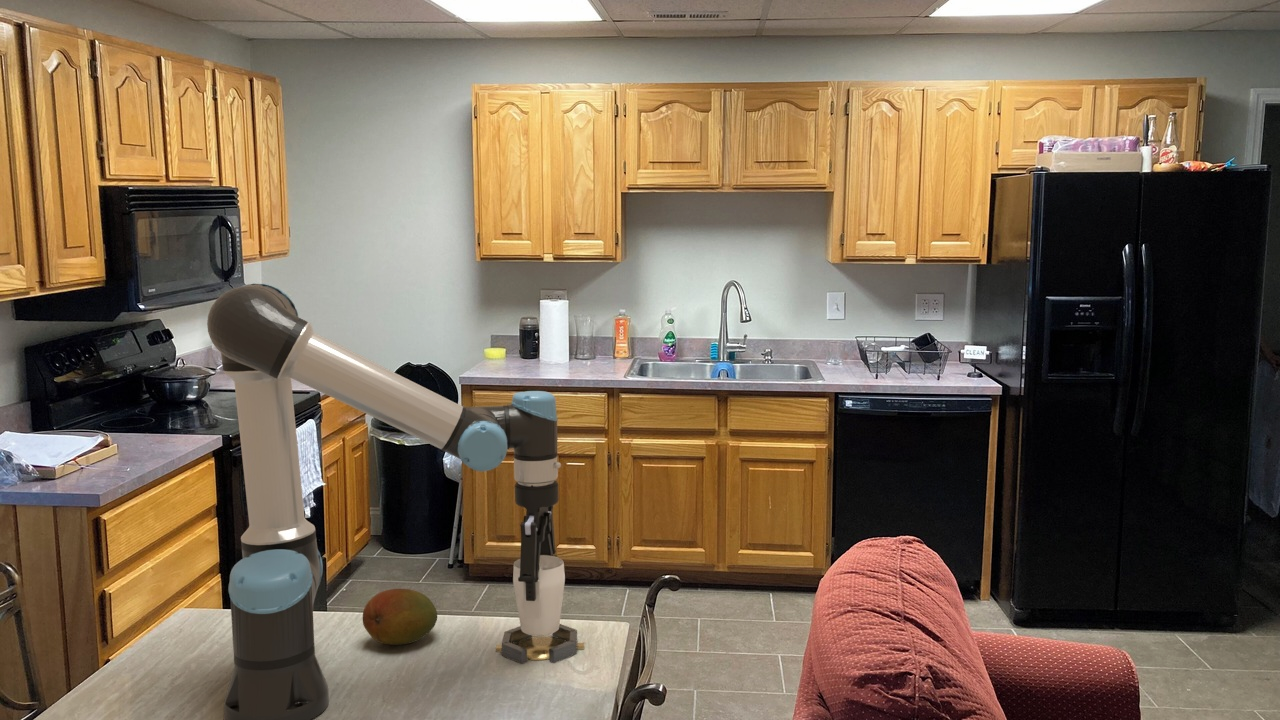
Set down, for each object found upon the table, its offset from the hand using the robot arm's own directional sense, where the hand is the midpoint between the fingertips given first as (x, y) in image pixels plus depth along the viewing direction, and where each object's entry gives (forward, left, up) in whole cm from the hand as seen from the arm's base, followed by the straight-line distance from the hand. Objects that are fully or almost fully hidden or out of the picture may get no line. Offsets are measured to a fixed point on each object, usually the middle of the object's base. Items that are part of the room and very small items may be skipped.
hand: (539, 607), depth 177 cm
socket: (0, 0, -8) cm, 8 cm away
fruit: (-25, +5, -8) cm, 27 cm away
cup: (0, 0, -4) cm, 4 cm away
